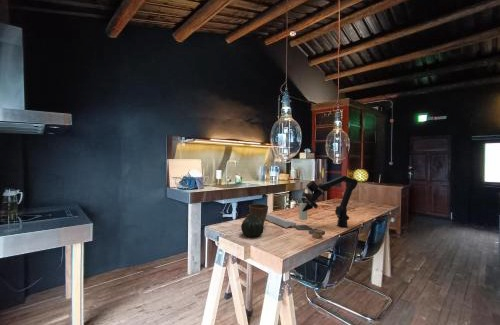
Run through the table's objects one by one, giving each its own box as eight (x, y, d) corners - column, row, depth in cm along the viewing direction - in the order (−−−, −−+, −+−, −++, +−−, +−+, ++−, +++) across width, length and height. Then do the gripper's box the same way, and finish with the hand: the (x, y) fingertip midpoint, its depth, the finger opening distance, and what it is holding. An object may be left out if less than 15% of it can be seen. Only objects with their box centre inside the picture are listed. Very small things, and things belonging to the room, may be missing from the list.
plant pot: (267, 224, 197) (268, 204, 197) (267, 230, 182) (267, 208, 182) (249, 223, 199) (249, 203, 198) (247, 228, 184) (247, 207, 184)
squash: (266, 231, 161) (262, 210, 170) (243, 233, 158) (240, 212, 167) (262, 240, 171) (259, 220, 181) (241, 242, 168) (238, 221, 178)
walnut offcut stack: (316, 236, 172) (316, 229, 172) (322, 238, 168) (322, 231, 168) (311, 237, 168) (312, 230, 168) (318, 239, 164) (318, 232, 164)
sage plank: (304, 218, 192) (305, 203, 192) (307, 219, 188) (307, 204, 188) (298, 218, 191) (299, 203, 191) (301, 219, 187) (301, 204, 187)
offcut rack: (316, 231, 182) (316, 228, 182) (325, 233, 176) (325, 231, 176) (308, 233, 177) (308, 230, 177) (317, 236, 171) (317, 233, 171)
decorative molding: (270, 219, 221) (260, 218, 216) (271, 214, 222) (262, 212, 217) (295, 229, 192) (285, 227, 187) (296, 223, 192) (286, 221, 187)
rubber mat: (306, 225, 196) (306, 224, 196) (312, 229, 186) (312, 228, 186) (293, 226, 194) (293, 225, 194) (298, 230, 184) (298, 229, 184)
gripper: (303, 187, 199) (290, 201, 197) (314, 190, 181) (300, 205, 179) (312, 196, 201) (299, 210, 199) (323, 200, 183) (309, 216, 181)
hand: (301, 210), depth 189 cm, fingers closed on sage plank, 4 cm apart
